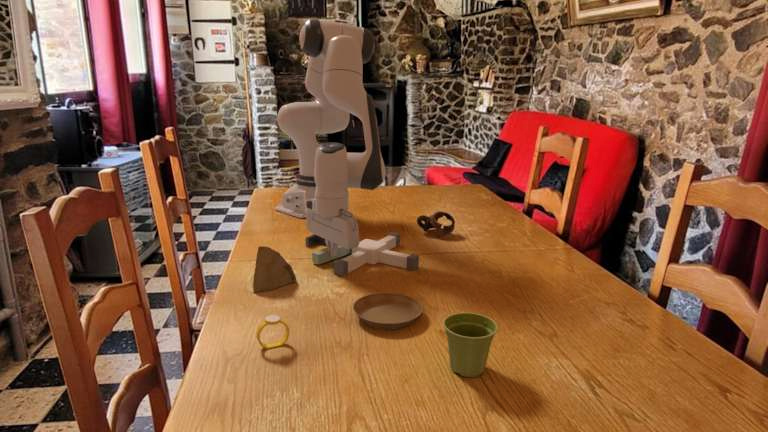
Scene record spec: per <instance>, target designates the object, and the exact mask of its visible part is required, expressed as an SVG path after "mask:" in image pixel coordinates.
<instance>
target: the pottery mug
mask: <svg viewBox="0 0 768 432" xmlns="http://www.w3.org/2000/svg"><path fill="white" fill-rule="evenodd" d="M443 217H445V218H446V220H448V221H450V222H451V224H449V225H443V223H440V222H438V221H439V219H441V218H443ZM423 222H424V223H423ZM416 223H417V225H418V227H420V229H422V230H423V232H425V233H426V232H428V230H431V229H436V230H437V233H436V235H435V236H436V238H438V239H442V238H443V236H447V235H450V234H451V233H453V231H454V230H455V223H456V221H455V219H454V217H453V216H452V215H451V214H450V213H448V212H446V211H436V212H434V213H433V214H431V215H430V216H428V215H427V216H426V215H423V214H422V215H419V216H418V217H417V219H416ZM442 226H443V227H442Z"/></svg>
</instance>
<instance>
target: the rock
mask: <svg viewBox="0 0 768 432" xmlns="http://www.w3.org/2000/svg"><path fill="white" fill-rule="evenodd" d="M297 281H298V280H297V276H296V274H295V272H294V270H293V268H292V265H291V264H290V263H288V262H287V261H286V259H285V258H284V257H283V256H282V254H281V253H280V252H279V251H276V250H274V249H272V248H271V247H269V246H263V245H262V246H258V249H257V252H256V258H255V266H254V275H253V283H252V289H253V290H252V291H253V294H256V293H261V292H267V291H272V290H275V289H278V288H281V287H284V286H286V285H289V284H291V283H295V282H297Z"/></svg>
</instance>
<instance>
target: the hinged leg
mask: <svg viewBox="0 0 768 432" xmlns="http://www.w3.org/2000/svg"><path fill="white" fill-rule="evenodd" d="M347 255H351V249H346V248H344V247H342V246H340V245H339V247H338V249H337V255H336V256H334V257H332V256H330V255H329V254H328V248H327V247H326V248H321V249H319V250H316V251H315V250H314V251H312V252H311V258H312V259H311V260H312V261H311V263H314V264H315V265H321V264H324V263H328V262H329V261H332V260H335V259H336V260H337V259H339V258H342V257H344V256H347Z"/></svg>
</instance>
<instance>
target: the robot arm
mask: <svg viewBox="0 0 768 432" xmlns="http://www.w3.org/2000/svg"><path fill="white" fill-rule="evenodd" d="M298 37H299V45H300V50H301V51H302V53H303V54H304V55H306V56H308V57H309V59H308V64H307V69H306V74H305V79H304V85H305V89H306V91H307V92H308V93H310V94H311V95H312V96H313V97H315V98H316V99H315V100H314V101H295V102H291V103H286V104H284V105H282V106H281V107H280V108H279V110H278V112H277V117H276V119H277V125H278V127H279V129H280V130H281V131H282V132H283V134H285V135H286V136H288V137H289V138H290V139H291V140H292V142H293V143H294V146H295V147H296V150H297V154H298V165H299V172H298V174H295V175H293V176H294V177H293V179H296V181H295V183H294V184H293V185H292V186H290V187H289V188H288V189H287V190H286V191H285V192H283V195H282V199H281V204H279V205H277V206H275V211H278V212H279V213H283V214H286V215H290V216H293V217H296V218H300V219H304V218H305V219H306V227H307V230H308V233H311V234H312V235H313V234H315V235H318V236H320V237H322V238H324V239H325V243H326V245H325V246H326V248H328V254H329V255H330V256H332V257H334V256H336V255H337V249H338V247H339V245H340V246H342V247H344V248H346V249H352V248H356V247H358V245H359V242H360V231H359V223H358V221H357V219H356V217H355V216H354V214H353V213H352V212H351V211H350V205H349V203H350V199H349V198H350V196H349V195H350V194H349V190H348V188H349V189H350V188H351V189H361V190H368V191H374V190H376V189H377V188H379V186H381V185H382V184H383V183H384V182H385V181H384V180H385V178H386V168H385V167H386V166H385V162H384V158H383V155H382V150H381V148H382V147H381V142H380V134H379V127H378V126H379V125H378V119H377V113H376V111H377V110H376V107H375V106H376V105H375V102H374V100H373V97H372V94H369V93H367V91H366V89H365V87H364V81H363V74H364V73H363V67H364V66H363V65H364V64H367V63H368V62H370V60H371V59H372V57H373V54H374V51H375V44H376V43H375V36H374V34H373V33H372V31H371V30H369V29H368V28H365V27H363V26H361V27H359V26H356V25H353V24H351V23H350V24H349V23H346V22H342V21H341V22H339V21H330V20H320V19H318V18H317V19H316V18H315V19H307V20H306V21H304V23H303V24H302V27H301V30H299V36H298ZM350 114H351V115H353V116H354V117H357V118H358V119H359V120H360V121H361V123H362V128H363V129H362V130H363V135H364V136H363V137H364V144H365V145H364V146H365V150H364V151H363V152H349V151H348V152H347V147H346V146H345V144H343V143H340V142H337V141H336V142H332V141H331V142H330V141H329V142H326V143H322V144H321V143H319V142H318V141H317V135H322V134H324V135H325V134H334V133H337V132H341V131H344V130H346V128H347V127H349V126H348V125H349V123H350V116H351V115H350Z"/></svg>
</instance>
